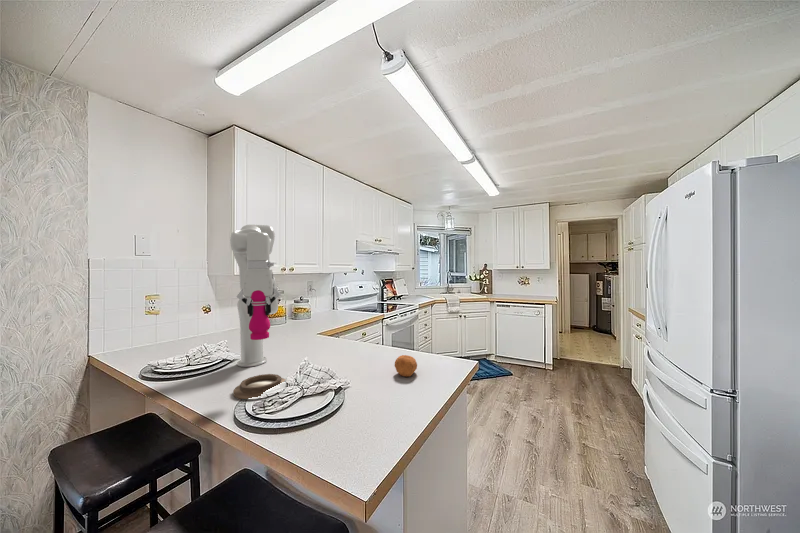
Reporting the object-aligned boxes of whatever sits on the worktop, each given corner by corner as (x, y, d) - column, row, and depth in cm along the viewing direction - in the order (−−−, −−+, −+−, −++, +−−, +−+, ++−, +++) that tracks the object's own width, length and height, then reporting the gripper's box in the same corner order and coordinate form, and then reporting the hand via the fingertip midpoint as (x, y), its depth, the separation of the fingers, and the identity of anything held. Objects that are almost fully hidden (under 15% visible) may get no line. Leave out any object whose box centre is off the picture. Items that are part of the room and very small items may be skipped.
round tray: (241, 382, 117) (241, 374, 117) (290, 377, 121) (290, 370, 121) (226, 403, 100) (225, 393, 100) (283, 396, 104) (283, 387, 104)
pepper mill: (262, 340, 106) (261, 284, 106) (244, 340, 108) (243, 284, 108) (274, 336, 113) (273, 282, 113) (257, 335, 115) (256, 283, 115)
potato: (390, 377, 120) (389, 358, 120) (400, 368, 130) (400, 350, 130) (412, 380, 116) (411, 360, 116) (420, 370, 127) (420, 352, 127)
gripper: (284, 265, 116) (285, 312, 116) (236, 266, 112) (237, 315, 112) (281, 265, 109) (282, 315, 109) (229, 266, 105) (230, 318, 105)
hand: (259, 315), depth 110 cm, fingers closed on pepper mill, 5 cm apart
